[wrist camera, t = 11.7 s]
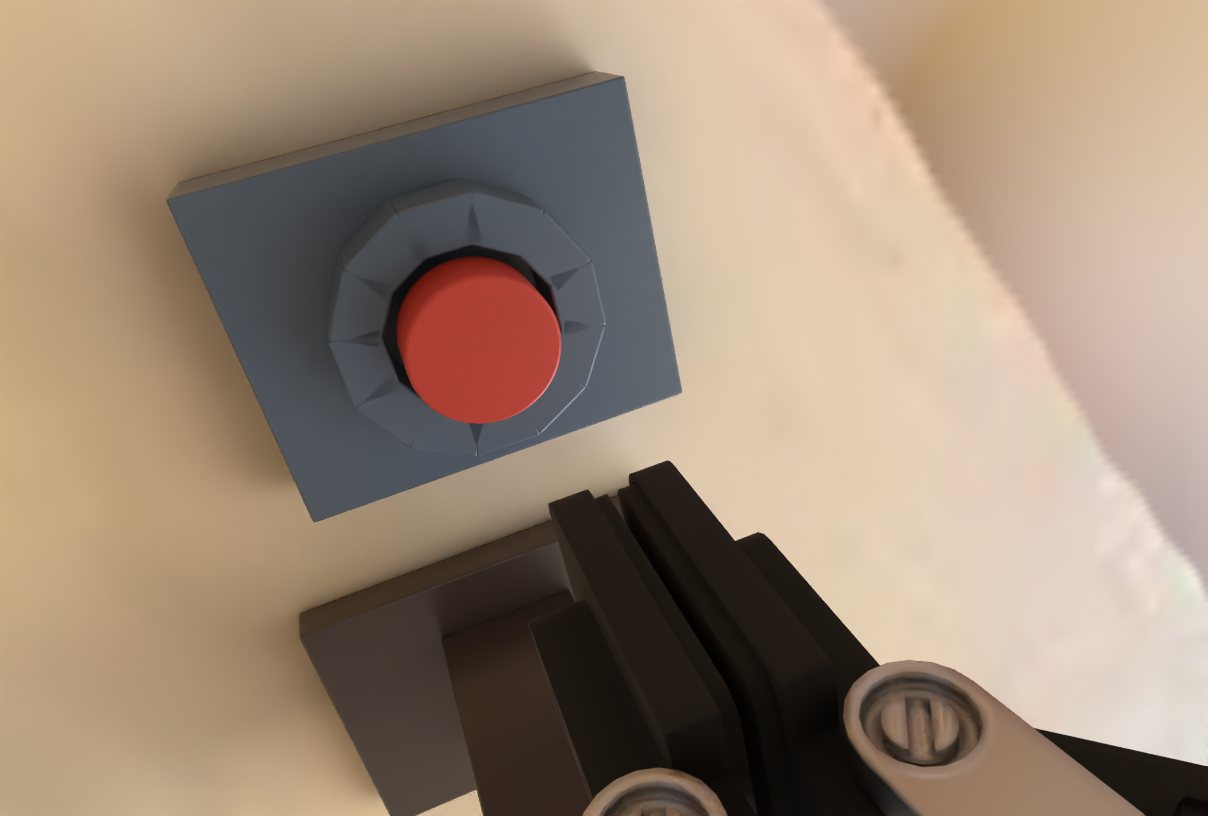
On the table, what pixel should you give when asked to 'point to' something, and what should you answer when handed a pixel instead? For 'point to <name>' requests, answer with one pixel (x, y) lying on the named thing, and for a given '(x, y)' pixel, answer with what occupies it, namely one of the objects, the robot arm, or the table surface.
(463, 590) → the bracket
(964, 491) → the table surface
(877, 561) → the table surface
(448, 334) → the red push button
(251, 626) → the table surface
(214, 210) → the button box
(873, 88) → the table surface
